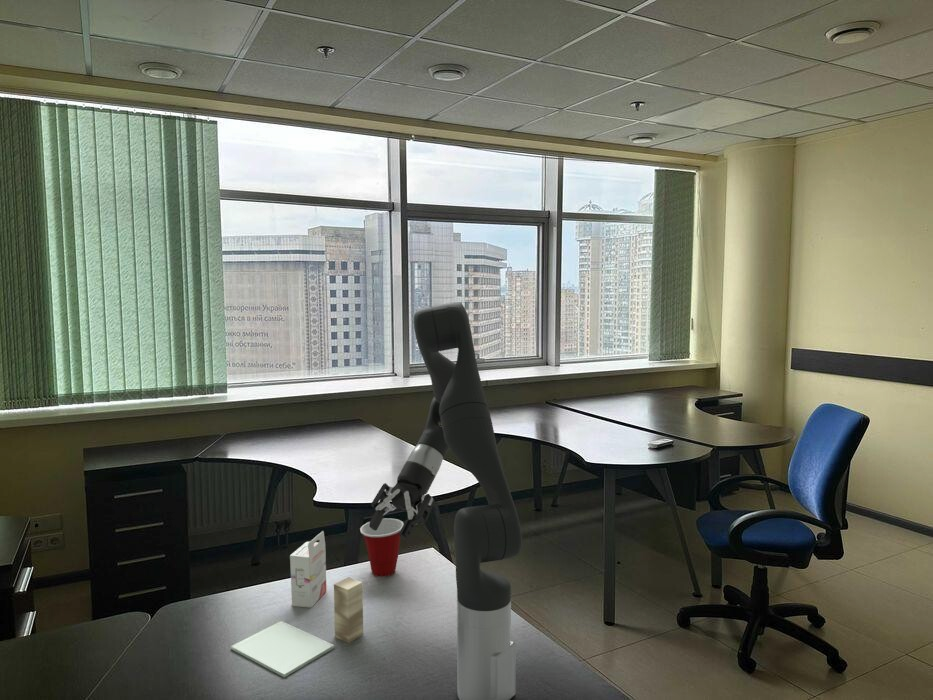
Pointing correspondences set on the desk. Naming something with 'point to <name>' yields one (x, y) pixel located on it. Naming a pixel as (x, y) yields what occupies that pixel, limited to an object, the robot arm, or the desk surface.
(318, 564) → the ink cartridge box
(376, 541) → the plastic cup
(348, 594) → the birch block
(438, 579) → the desk surface
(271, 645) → the sage mat
